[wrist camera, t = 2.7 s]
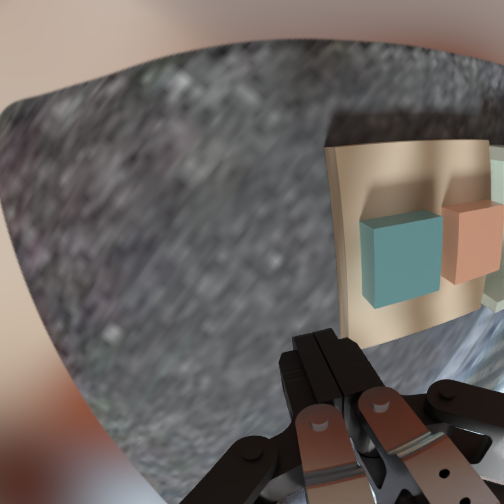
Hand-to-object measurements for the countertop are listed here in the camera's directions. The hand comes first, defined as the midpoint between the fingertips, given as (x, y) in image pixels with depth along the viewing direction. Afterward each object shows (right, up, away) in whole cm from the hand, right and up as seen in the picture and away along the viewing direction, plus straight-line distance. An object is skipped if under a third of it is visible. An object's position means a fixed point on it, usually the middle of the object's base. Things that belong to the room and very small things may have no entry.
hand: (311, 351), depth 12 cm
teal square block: (+7, +4, +8) cm, 11 cm away
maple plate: (+10, +5, +10) cm, 15 cm away
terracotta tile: (+13, +5, +8) cm, 16 cm away
